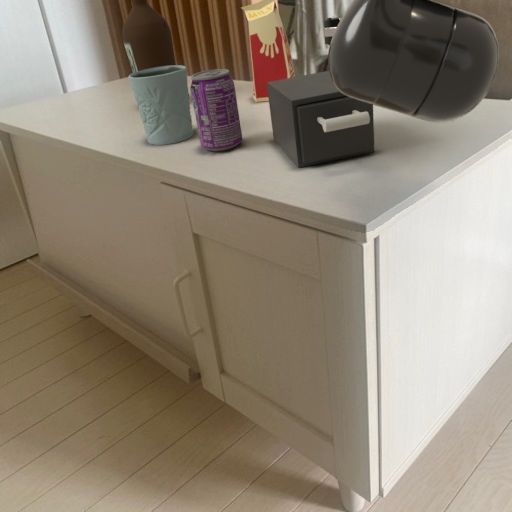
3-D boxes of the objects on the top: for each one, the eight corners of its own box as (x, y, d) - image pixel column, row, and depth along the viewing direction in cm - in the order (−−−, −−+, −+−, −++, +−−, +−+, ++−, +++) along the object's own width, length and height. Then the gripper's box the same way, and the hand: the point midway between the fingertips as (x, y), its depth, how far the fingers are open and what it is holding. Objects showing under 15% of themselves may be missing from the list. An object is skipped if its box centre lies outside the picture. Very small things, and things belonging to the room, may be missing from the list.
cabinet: (374, 152, 78) (372, 85, 74) (298, 168, 77) (291, 100, 72) (339, 127, 91) (336, 69, 87) (273, 141, 90) (266, 82, 85)
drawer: (386, 158, 73) (385, 100, 69) (313, 173, 72) (308, 115, 68) (340, 126, 89) (337, 77, 85) (280, 138, 87) (274, 90, 84)
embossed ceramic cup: (135, 147, 98) (118, 79, 92) (158, 130, 106) (143, 67, 100) (186, 144, 95) (172, 74, 89) (206, 127, 103) (194, 62, 97)
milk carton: (296, 88, 121) (287, -10, 111) (291, 99, 113) (281, -6, 104) (257, 92, 123) (244, -4, 113) (249, 103, 115) (235, 0, 106)
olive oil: (182, 95, 131) (159, -19, 119) (186, 104, 122) (162, -18, 110) (139, 103, 130) (111, -11, 118) (139, 113, 121) (110, -10, 109)
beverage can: (214, 139, 95) (202, 69, 89) (250, 139, 92) (239, 67, 86) (193, 153, 90) (179, 79, 84) (230, 154, 87) (218, 77, 81)
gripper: (466, -22, 47) (434, -23, 62) (315, -3, 49) (320, -8, 65) (462, 68, 50) (432, 46, 66) (320, 82, 53) (323, 57, 68)
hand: (376, 19), depth 65 cm, fingers closed
